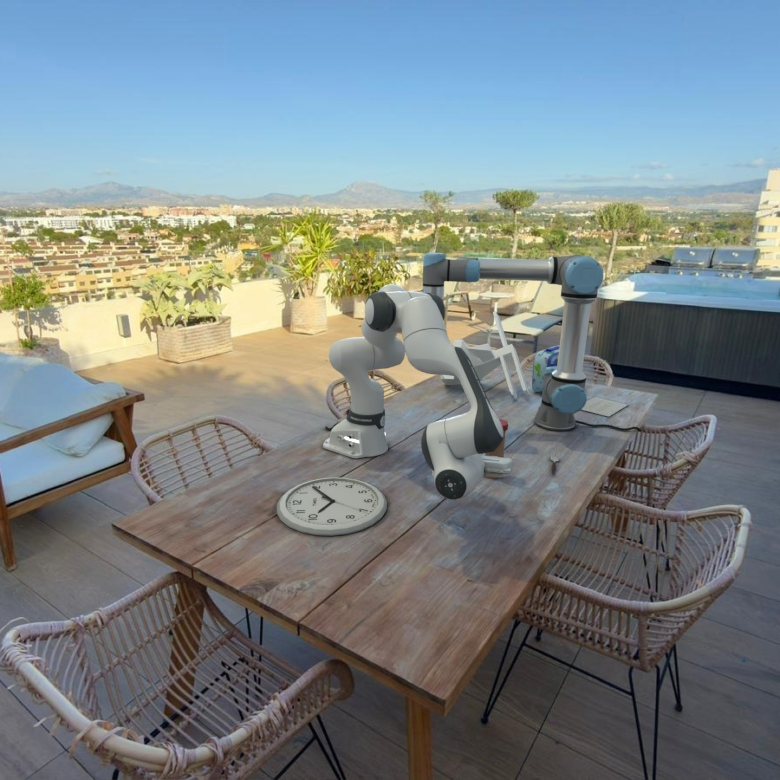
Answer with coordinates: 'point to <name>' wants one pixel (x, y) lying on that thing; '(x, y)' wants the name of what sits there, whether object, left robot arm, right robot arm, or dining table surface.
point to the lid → (504, 424)
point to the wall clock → (331, 506)
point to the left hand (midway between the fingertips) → (477, 457)
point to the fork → (554, 461)
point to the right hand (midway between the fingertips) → (430, 357)
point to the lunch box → (543, 366)
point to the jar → (498, 452)
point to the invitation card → (603, 406)
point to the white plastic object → (490, 360)
